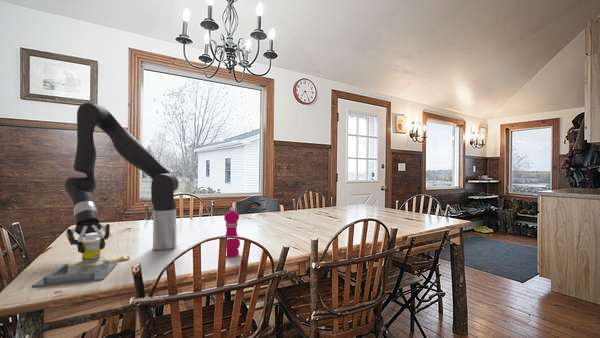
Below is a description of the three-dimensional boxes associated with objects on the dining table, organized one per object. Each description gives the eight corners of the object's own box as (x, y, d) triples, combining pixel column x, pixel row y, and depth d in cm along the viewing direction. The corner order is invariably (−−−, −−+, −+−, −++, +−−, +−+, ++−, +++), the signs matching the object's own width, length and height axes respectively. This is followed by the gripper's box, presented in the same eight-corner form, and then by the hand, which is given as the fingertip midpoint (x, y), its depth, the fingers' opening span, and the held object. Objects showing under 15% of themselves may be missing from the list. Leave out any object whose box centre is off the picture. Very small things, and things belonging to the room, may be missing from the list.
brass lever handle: (127, 258, 106) (127, 255, 106) (130, 259, 104) (130, 257, 104) (107, 262, 101) (107, 260, 101) (110, 264, 99) (110, 261, 99)
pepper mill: (235, 258, 108) (236, 209, 107) (218, 256, 109) (219, 208, 109) (242, 252, 115) (243, 206, 114) (227, 251, 116) (227, 205, 116)
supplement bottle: (84, 258, 104) (85, 232, 104) (102, 256, 107) (102, 231, 107) (79, 263, 99) (79, 236, 99) (97, 261, 102) (98, 234, 101)
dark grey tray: (117, 264, 99) (117, 258, 99) (102, 280, 86) (102, 273, 86) (57, 269, 93) (57, 263, 93) (32, 287, 80) (32, 280, 80)
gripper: (64, 211, 102) (69, 249, 95) (108, 207, 113) (116, 241, 105) (61, 222, 106) (66, 260, 98) (105, 218, 117) (112, 251, 109)
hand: (92, 250), depth 102 cm, fingers closed on supplement bottle, 5 cm apart
